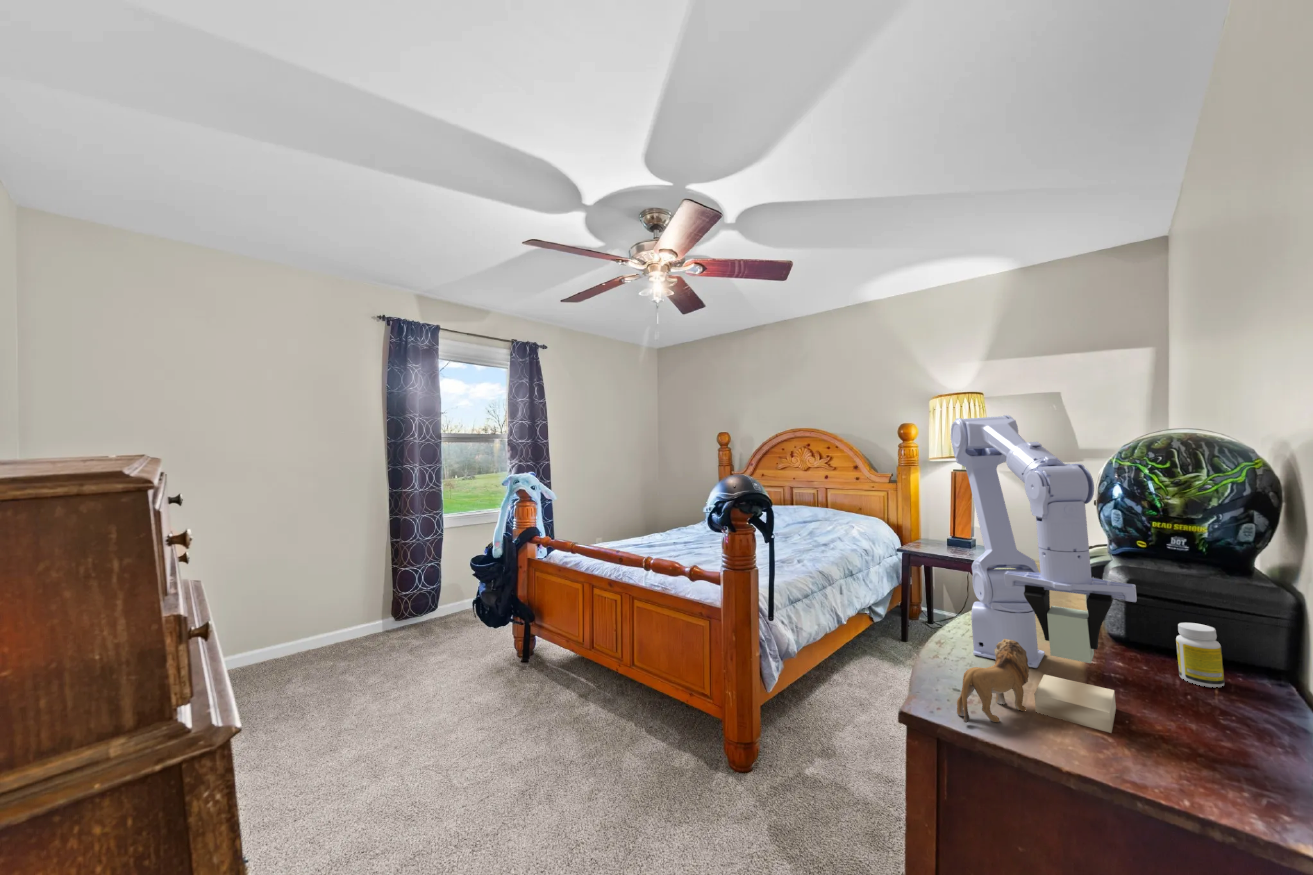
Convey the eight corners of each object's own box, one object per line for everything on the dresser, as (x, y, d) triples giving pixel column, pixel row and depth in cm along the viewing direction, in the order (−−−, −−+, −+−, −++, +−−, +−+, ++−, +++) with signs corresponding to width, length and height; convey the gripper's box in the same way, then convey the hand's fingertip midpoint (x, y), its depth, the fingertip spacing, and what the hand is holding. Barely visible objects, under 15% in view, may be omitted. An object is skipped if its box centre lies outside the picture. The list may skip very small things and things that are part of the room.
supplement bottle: (1234, 689, 74) (1229, 632, 74) (1196, 688, 75) (1191, 631, 75) (1206, 674, 78) (1201, 621, 79) (1170, 673, 79) (1166, 621, 80)
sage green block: (1050, 655, 71) (1047, 613, 71) (1055, 645, 74) (1051, 605, 74) (1091, 663, 68) (1087, 619, 68) (1094, 653, 71) (1090, 611, 71)
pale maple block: (1036, 715, 71) (1034, 693, 71) (1045, 693, 76) (1044, 674, 76) (1111, 735, 65) (1109, 712, 65) (1116, 711, 70) (1114, 690, 70)
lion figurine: (1002, 689, 77) (997, 632, 78) (1041, 703, 73) (1036, 642, 73) (947, 718, 70) (942, 655, 71) (987, 736, 66) (981, 668, 66)
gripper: (997, 548, 74) (1004, 639, 73) (1130, 558, 64) (1140, 665, 63) (1007, 540, 79) (1014, 626, 78) (1133, 549, 68) (1142, 648, 68)
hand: (1071, 642), depth 71 cm, fingers closed on sage green block, 4 cm apart
